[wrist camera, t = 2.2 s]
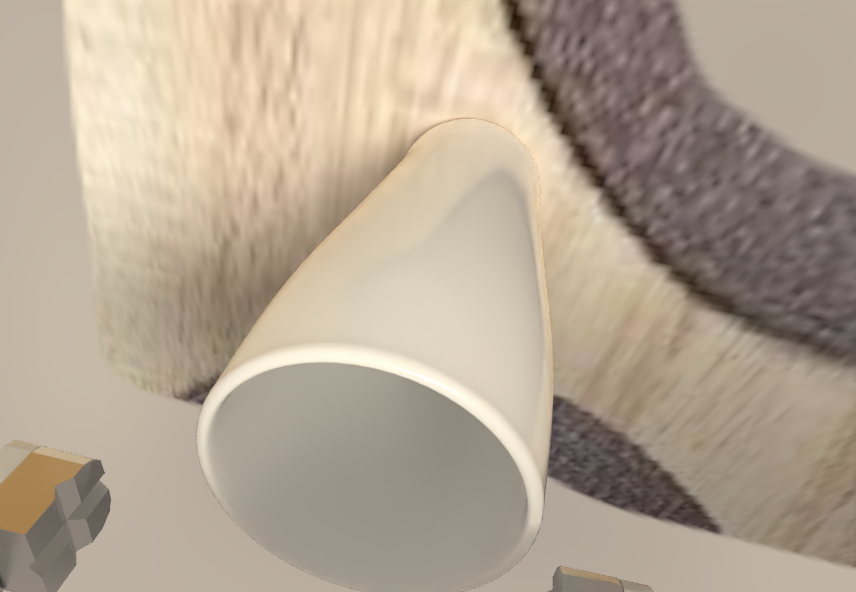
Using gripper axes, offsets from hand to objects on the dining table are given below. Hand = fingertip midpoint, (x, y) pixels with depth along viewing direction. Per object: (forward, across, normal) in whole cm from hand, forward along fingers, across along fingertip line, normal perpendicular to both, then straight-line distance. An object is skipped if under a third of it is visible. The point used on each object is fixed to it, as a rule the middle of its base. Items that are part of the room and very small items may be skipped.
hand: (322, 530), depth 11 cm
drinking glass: (+16, -1, 0) cm, 16 cm away
